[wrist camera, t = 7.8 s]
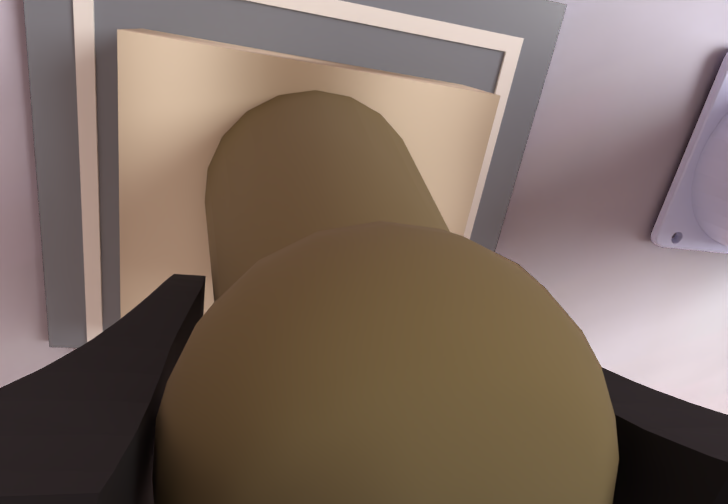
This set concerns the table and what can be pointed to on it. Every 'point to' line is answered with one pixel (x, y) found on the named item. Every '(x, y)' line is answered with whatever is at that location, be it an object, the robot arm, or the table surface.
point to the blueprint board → (267, 32)
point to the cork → (369, 339)
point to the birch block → (226, 106)
